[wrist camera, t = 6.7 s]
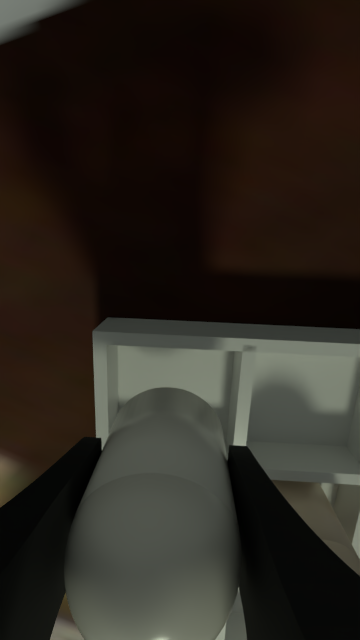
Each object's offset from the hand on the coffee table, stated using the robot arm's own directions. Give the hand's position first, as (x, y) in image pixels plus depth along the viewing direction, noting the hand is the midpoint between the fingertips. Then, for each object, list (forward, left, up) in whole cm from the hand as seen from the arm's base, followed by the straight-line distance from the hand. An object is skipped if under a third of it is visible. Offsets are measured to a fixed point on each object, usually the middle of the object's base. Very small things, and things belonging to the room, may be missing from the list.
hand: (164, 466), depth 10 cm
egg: (0, 0, -2) cm, 2 cm away
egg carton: (-3, +7, -6) cm, 10 cm away
